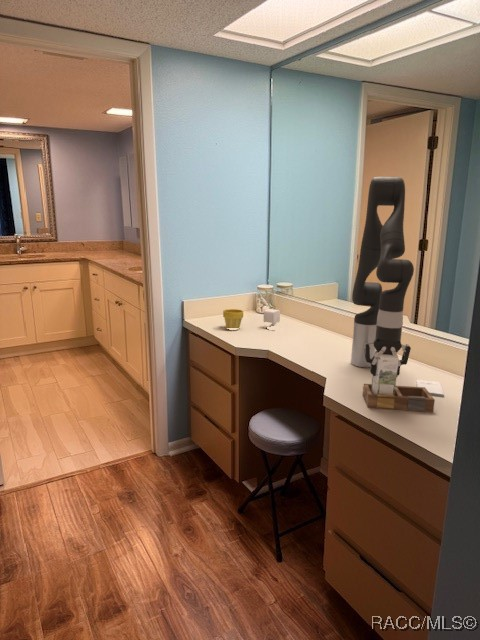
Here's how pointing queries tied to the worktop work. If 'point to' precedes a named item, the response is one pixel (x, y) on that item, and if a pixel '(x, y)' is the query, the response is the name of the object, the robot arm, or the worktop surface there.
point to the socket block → (400, 399)
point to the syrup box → (385, 375)
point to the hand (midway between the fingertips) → (384, 375)
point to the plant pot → (233, 317)
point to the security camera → (272, 316)
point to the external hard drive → (431, 387)
